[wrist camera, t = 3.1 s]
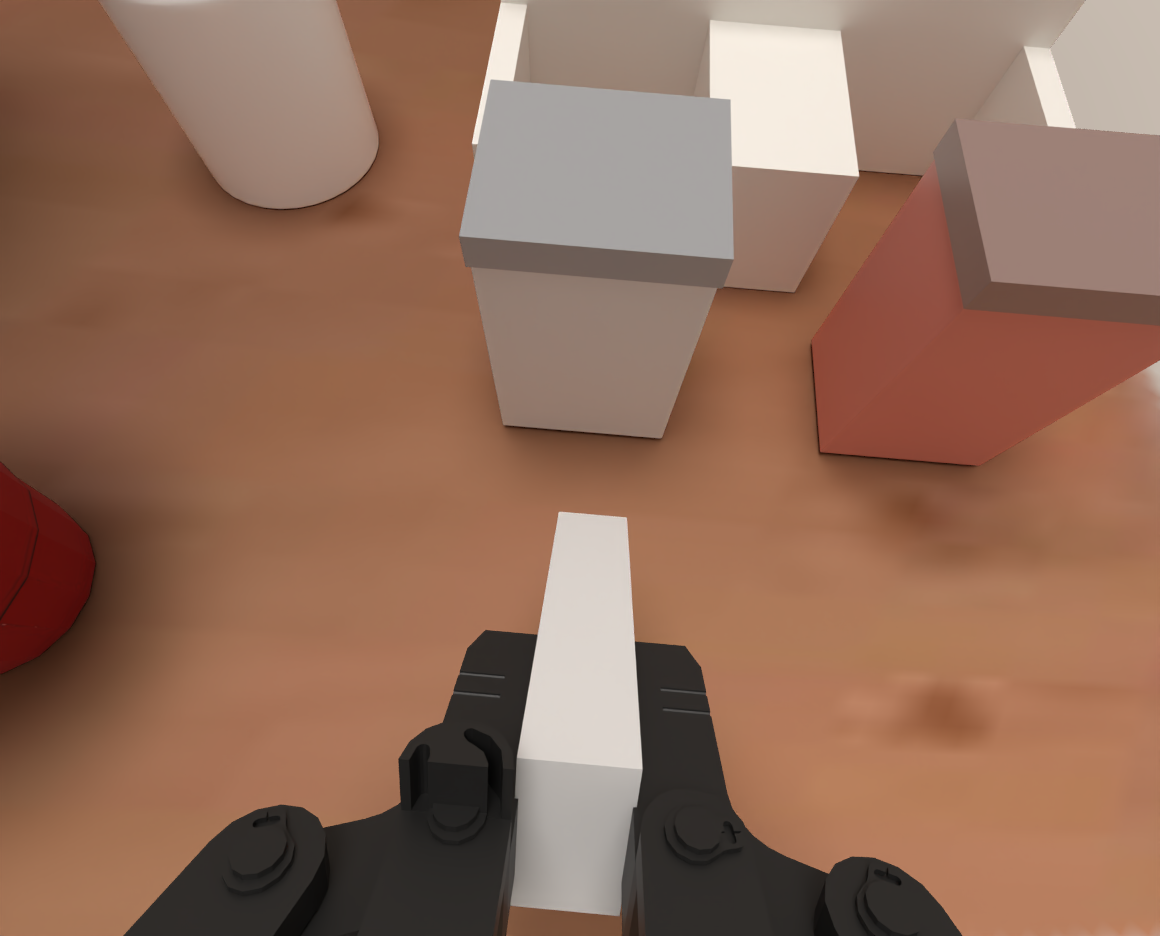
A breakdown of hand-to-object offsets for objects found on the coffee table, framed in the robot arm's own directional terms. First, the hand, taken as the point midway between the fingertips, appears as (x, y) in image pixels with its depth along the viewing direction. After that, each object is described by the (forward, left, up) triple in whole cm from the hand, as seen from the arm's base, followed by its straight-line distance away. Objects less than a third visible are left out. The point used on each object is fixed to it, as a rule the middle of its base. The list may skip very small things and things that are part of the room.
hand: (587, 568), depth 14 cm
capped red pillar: (+12, +9, -7) cm, 16 cm away
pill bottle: (-15, +20, -8) cm, 26 cm away
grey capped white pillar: (0, +9, -7) cm, 12 cm away
